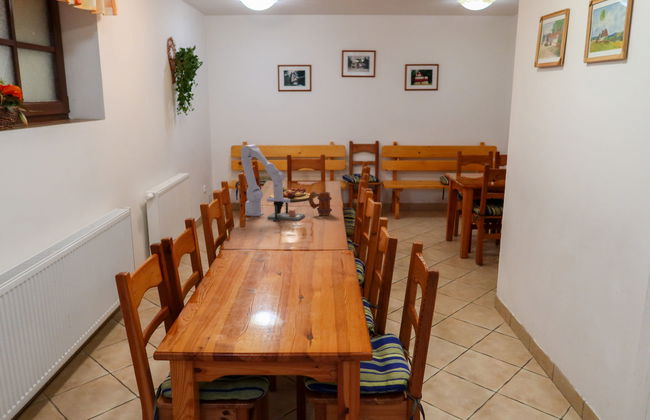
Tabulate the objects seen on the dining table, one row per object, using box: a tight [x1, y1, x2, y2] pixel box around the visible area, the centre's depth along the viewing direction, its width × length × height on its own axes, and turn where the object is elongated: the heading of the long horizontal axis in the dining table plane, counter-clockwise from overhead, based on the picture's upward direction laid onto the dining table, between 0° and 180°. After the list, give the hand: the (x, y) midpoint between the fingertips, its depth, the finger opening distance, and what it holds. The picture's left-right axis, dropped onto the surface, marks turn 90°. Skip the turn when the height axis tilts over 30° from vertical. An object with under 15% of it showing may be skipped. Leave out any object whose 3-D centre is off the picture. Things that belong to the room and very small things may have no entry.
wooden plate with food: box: [269, 186, 310, 202], centre depth 377 cm, size 32×32×8 cm
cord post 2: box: [283, 202, 289, 213], centre depth 322 cm, size 4×4×9 cm
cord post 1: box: [272, 206, 280, 223], centre depth 305 cm, size 4×4×9 cm
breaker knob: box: [288, 208, 296, 216], centre depth 312 cm, size 3×3×4 cm
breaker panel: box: [266, 212, 306, 222], centre depth 314 cm, size 20×12×2 cm, turn 73°
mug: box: [308, 190, 333, 217], centre depth 319 cm, size 15×8×15 cm, turn 84°
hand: (278, 213), depth 315 cm, fingers closed
